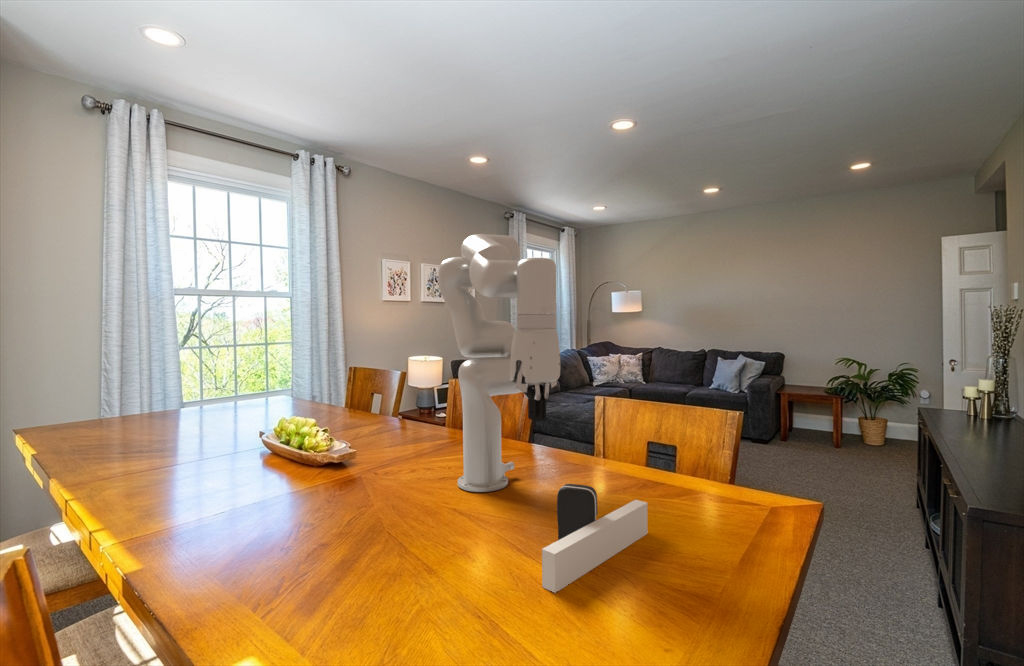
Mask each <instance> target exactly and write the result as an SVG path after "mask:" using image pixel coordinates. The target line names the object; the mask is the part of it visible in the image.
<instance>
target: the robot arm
mask: <svg viewBox="0 0 1024 666" xmlns="http://www.w3.org/2000/svg"><path fill="white" fill-rule="evenodd" d="M460 255H461V256H456V257H455V256H454V257H449V258H446V259H444V260H443V261H442V262H441V263H440V264H439V267H438V271H437V279H438V281H437V282H438V287H439V292H440V294H441V296H442V299H443V301H444V303H445V304H446V307H447V309H448V311H449V313H450V316H451V320H452V326H453V330H454V335H455V340H456V344H457V349H458V351H459V353H460V354H461V355H462V356H463V357H465V358H470V359H467V360H465V361H463V362H462V363H461V364H460V366H459V368H458V374H457V375H458V385H459V389H460V396H461V405H462V406H461V408H462V445H463V446H462V450H463V452H462V455H463V457H462V458H463V475H462V476H460V477H458V479H457V486H458V487H459V489H462V490H464V491H467V492H472V493H473V492H474V493H487V492H488V493H489V492H494V491H500V490H502V489H504V488H506V487H507V486H508V484H509V478H508V477H507V476H506V475H505V473H507V472H508V471H511V470H512V471H513V470H514V469H515V463H514V462H513V461H509V462H506V463H504V462H503V461H502V460H503V459H502V415H501V410H500V408H499V407H498V406H497V404H496V402H494V401H493V398H492V397H494V396H503V395H515V394H519V393H524V395H525V398H526V399H527V402H528V403H527V410H528V411H527V416H528V419H529V420H533V421H538V422H542V421H545V420H547V399H548V398H549V393H550V391H551V389H552V388H554V387H556V386H557V385H558V380H559V378H560V376H561V351H560V342H559V341H560V340H559V333H558V330H557V265H556V262H555V261H554V260H553V259H551V258H549V257H548V258H547V257H527V258H522V259H521V260H520V258H521V257H520V256H521V249H520V245H519V243H518V242H517V240H516V239H515V238H514V237H512V236H511V235H505V234H503V235H502V234H488V233H487V234H486V233H475V234H471V235H469V236H468V237H466V238H465V239H464V240H463V242H462V244H461V247H460ZM467 290H475V291H476V292H478V293H479V294H480V295H481V296H483V297H486V298H489V299H490V298H491V299H516V327H515V326H514V325H513V324H512V323H510V322H509V321H505V320H488V319H486V317H485V315H484V310H483V306H482V304H481V303H480V302H479V300H477V298H476V297H475V296H473V295H472V294H471V293H470V292H468V291H467Z"/></svg>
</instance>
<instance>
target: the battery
mask: <svg viewBox="0 0 1024 666" xmlns="http://www.w3.org/2000/svg"><path fill="white" fill-rule="evenodd" d="M556 515H557V516H556V517H557V520H556V521H557V531H558V532H557V534H558V535H557V536H558V538H557V539H558V540H560V539H562V538H564V537H566V536H567V535H569V534H571V533H573V532H575V531H577V530H579V529H581V528H583V527H585V526H586V525H588V524H590V523H592V522H594V521H596V520H597V517H598V495H597V491H596V489H595V488H594V487H593V486H590V485H585V484H584V485H583V484H577V483H566V484H564V485H563V486H561V487H560V488H559V489H558V491H557V497H556ZM558 540H557V541H558Z"/></svg>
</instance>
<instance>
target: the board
mask: <svg viewBox="0 0 1024 666" xmlns="http://www.w3.org/2000/svg"><path fill="white" fill-rule="evenodd" d="M648 532H649V531H648V502H646V501H643V500H638V499H634V500H632V501H630V502H628V503H626V504H624V505H623V506H621V507H619V508H616V509H615V510H613V511H611V512H609V513H607V514H606V515H604V516H602V517H600V518H598V519H596V521H594V522H592V523H590V524H588V525H586V526H585V527H583V528H581V529H579V530H577V531H575V532H573V533H571V534H569V535H567V536H566V537H564V538H562V539H560V540H556V541H554V542H552V543H551V544H548V545H547V546H545V547H542V549H541V569H542V570H541V572H542V573H541V575H542V576H541V579H542V580H541V581H542V584H541V585H542V588H543V589H546V590H547V591H550V592H551V591H552V593H553V592H554V593H553V594H556V593H557V591H558V592H559V591H561V590H562V589H564V588H565V587H567V586H569V585H570V584H571V583H573V582H575V581H576V580H578V579H579V578H581V577H582V576H584V575H586V574H587V573H589V572H590V571H592V570H594V568H596V567H597V568H598V566H599V565H601V564H603V563H604V562H606V561H608V560H609V559H611V558H612V557H613V556H615V555H617V554H618V553H620V552H621V551H623V550H625V549H626V548H628V547H629V546H631V545H632V544H634V543H636V542H637V541H638V540H640V539H642V538H643V537H644V536H646V535H648ZM568 584H569V585H568Z"/></svg>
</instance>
